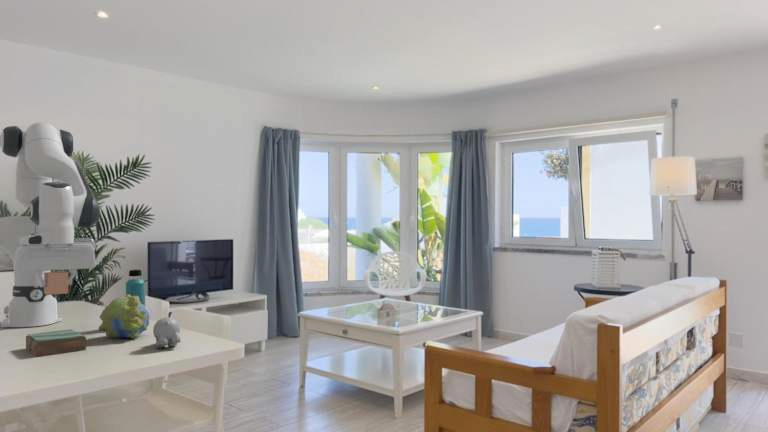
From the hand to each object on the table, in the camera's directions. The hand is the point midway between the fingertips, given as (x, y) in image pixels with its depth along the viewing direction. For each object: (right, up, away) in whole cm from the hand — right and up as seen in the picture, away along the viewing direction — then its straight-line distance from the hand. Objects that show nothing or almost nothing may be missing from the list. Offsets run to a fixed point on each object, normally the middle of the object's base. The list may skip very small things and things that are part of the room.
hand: (56, 286), depth 157 cm
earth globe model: (+13, -19, +15) cm, 27 cm away
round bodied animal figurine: (+30, -18, +3) cm, 36 cm away
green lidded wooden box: (0, -18, 0) cm, 18 cm away
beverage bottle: (+7, -19, +34) cm, 40 cm away
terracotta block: (0, -2, 0) cm, 2 cm away
